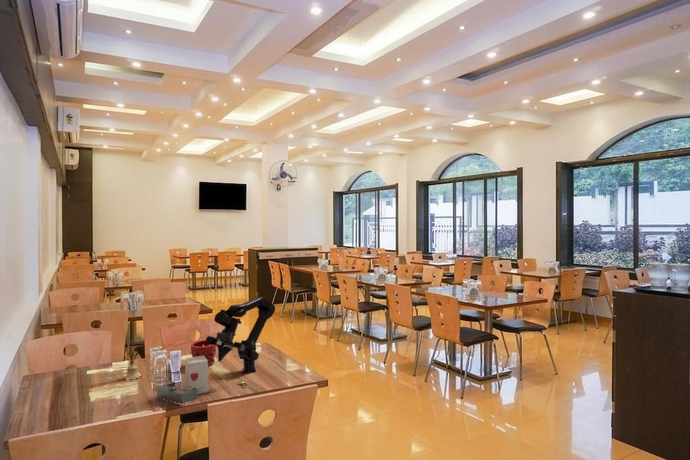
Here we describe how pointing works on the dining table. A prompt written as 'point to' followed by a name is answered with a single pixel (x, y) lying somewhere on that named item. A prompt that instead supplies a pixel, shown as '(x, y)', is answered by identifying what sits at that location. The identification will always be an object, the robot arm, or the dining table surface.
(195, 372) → the supplement box
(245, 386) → the brass key
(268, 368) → the dining table surface
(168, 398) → the coupler mouth
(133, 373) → the hand bell
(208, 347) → the plant pot
